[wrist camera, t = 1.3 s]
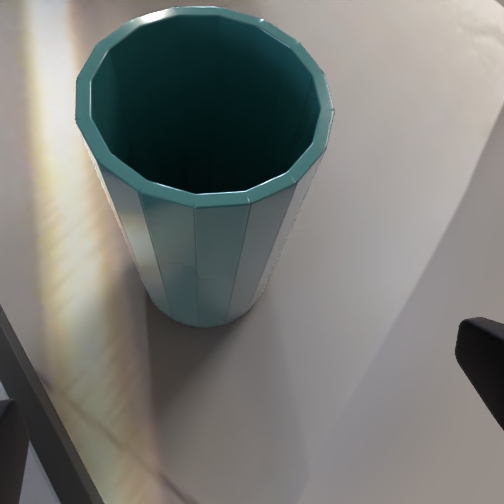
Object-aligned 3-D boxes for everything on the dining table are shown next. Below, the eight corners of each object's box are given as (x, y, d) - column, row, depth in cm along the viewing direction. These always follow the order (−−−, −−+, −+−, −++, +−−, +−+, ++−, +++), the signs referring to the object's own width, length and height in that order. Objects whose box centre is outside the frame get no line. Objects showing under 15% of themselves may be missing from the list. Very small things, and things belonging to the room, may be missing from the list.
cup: (289, 290, 23) (381, 143, 11) (177, 352, 21) (145, 253, 9) (229, 195, 25) (252, -17, 13) (121, 243, 23) (35, 46, 11)
